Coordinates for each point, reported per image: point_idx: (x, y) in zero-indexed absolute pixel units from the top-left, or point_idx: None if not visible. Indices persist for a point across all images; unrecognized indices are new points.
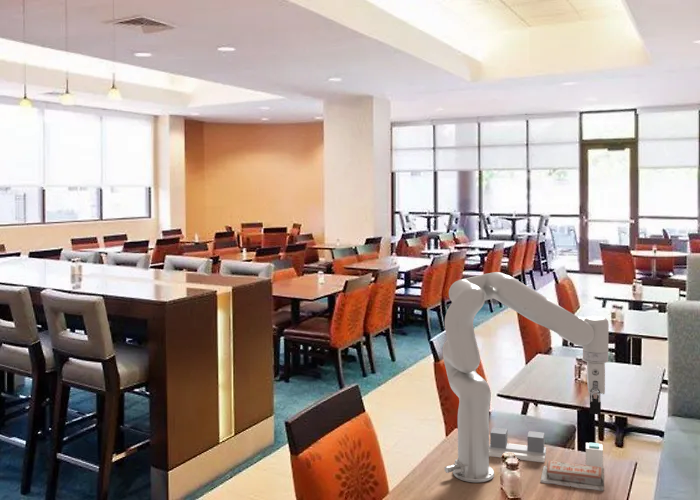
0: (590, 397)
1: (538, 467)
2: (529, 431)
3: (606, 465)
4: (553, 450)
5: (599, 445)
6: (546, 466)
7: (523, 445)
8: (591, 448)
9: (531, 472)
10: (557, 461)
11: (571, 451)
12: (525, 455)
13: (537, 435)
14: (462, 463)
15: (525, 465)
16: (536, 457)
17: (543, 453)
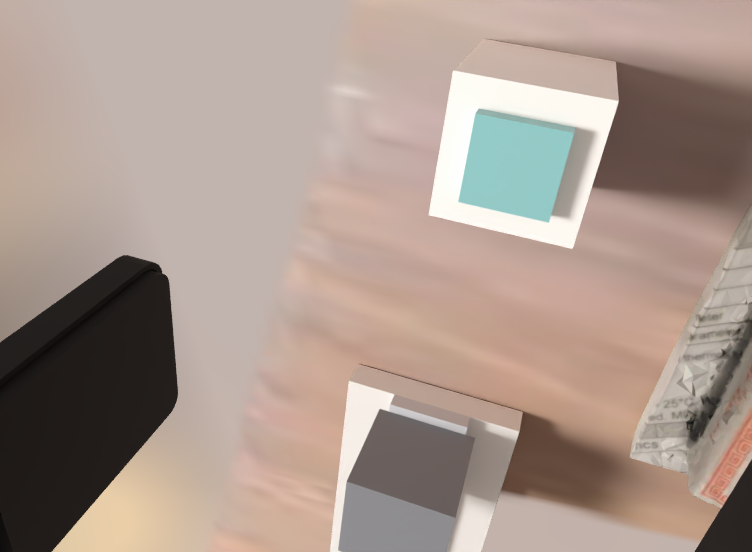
0: (105, 482)
1: (599, 457)
2: (343, 548)
3: (548, 14)
4: (328, 320)
5: (487, 107)
6: (642, 447)
7: (344, 477)
8: (571, 200)
9: (675, 507)
10: (736, 459)
11: (320, 221)
12: (488, 507)
13: (408, 532)
14: None
15: (571, 506)
16: (508, 464)
17: (466, 429)
